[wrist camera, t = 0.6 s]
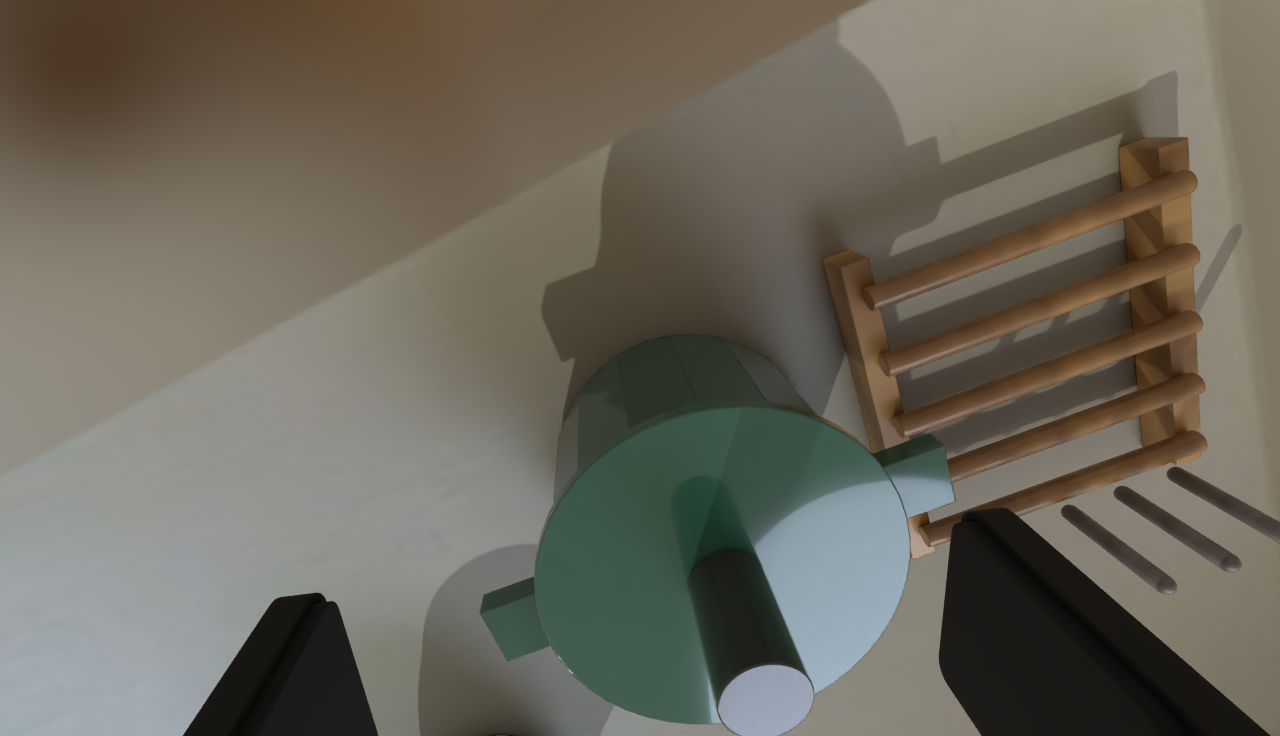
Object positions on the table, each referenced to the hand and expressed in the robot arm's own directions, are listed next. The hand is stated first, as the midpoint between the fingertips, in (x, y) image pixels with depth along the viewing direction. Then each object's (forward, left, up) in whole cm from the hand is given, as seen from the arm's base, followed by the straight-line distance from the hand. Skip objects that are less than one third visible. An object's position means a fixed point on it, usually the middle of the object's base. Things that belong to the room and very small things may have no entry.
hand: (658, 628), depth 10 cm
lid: (+8, +1, -10) cm, 12 cm away
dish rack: (+9, +16, -18) cm, 26 cm away
